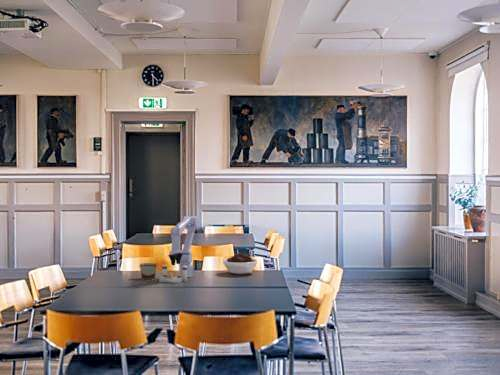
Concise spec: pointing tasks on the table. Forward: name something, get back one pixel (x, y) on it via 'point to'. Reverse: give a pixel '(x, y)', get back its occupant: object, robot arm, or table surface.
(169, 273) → the block
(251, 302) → the table surface
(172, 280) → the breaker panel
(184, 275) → the cable post
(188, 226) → the robot arm
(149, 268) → the food container
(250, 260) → the white bowl
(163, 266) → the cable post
